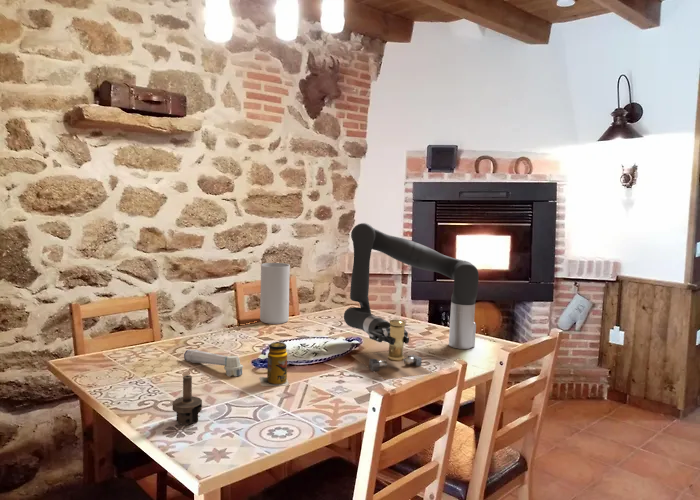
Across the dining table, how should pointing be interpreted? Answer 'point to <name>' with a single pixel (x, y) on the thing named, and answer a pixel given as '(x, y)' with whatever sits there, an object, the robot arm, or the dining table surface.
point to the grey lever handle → (215, 361)
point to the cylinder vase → (274, 293)
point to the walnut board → (391, 366)
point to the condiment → (276, 366)
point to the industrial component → (187, 404)
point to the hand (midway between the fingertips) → (400, 341)
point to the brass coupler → (397, 340)
